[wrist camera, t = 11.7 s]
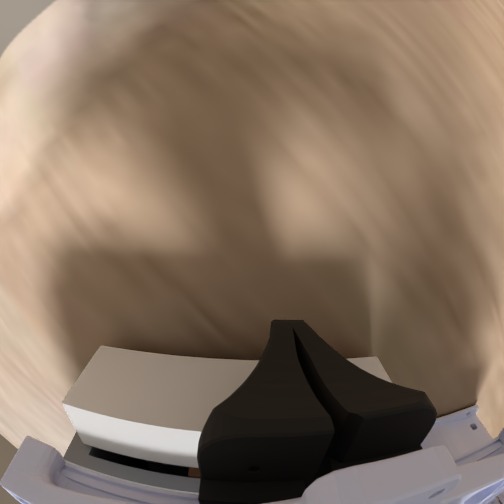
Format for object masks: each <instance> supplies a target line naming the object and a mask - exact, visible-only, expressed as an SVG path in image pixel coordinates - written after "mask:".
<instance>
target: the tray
mask: <svg viewBox="0 0 504 504" xmlns="http://www.w3.org/2000/svg"><path fill="white" fill-rule="evenodd" d="M347 360H348V361H350V362H351V363H353V364H355V365H356V366H358V367H359V368H361V369H363V370H365V371H366V372H368V373H370V374H372V375H374V376H376V377H378V378H381V379H383V380H386V381H388V382H391V383H392V381H391V380H390V378H389V376H388V374H387V373H386V371H385V369H384V368H383V366H382V364H381V363H380V361H379V359H378V358H377V356H375V357H363V358H349V359H347ZM258 362H259V360H233V359H214V358H200V357H188V356H177V355H167V354H158V353H150V352H142V351H135V350H128V349H121V348H115V347H109V346H103V345H101V346H100V347H99V348H98V350H97V351H96V353H95V354H94V355H93V357H92V358H91V360H90V361H89V363H88V364H87V365H86V367H85V368H84V370H83V371H82V373H81V374H80V376H79V377H78V379H77V380H76V382H75V383H74V385H73V386H72V388H71V389H70V391H69V392H68V394H67V395H66V397H65V398H64V400H63V401H62V405H63V407H64V409H65V411H66V413H67V415H68V417H69V418H70V420H71V422H72V424H73V426H74V428H75V429H76V431H77V433H78V435H79V437H80V438H81V440H82V442H83V443H84V444H87V445H90V446H93V447H96V448H99V449H103V450H106V451H110V452H114V453H118V454H122V455H126V456H130V457H134V458H139V459H144V460H146V462H147V464H148V466H149V469H150V471H152V472H157V473H163V474H169V475H176V476H183V477H188V472H189V467H194V468H199V467H198V462H197V451H198V442H199V438H200V435H201V432H202V430H203V427H204V425H205V423H206V421H207V419H208V417H209V415H210V413H211V412H212V410H213V408H214V407H216V406H217V405H219V404H220V403H221V402H223V401H224V400H225V399H227V398H228V397H229V396H230V395H231V394H232V393H233V392H234V391H235V390H237V389H238V388H239V387H240V386H241V385H242V384H243V382H244V381H245V380H246V379H247V378H248V376H249V375H250V374H251V372H252V371H253V370H254V368H255V367H256V365H257V364H258Z"/></svg>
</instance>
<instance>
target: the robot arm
mask: <svg viewBox="0 0 504 504" xmlns="http://www.w3.org/2000/svg"><path fill="white" fill-rule="evenodd" d="M478 409H479V406H478V405H474V406H472V407H469V408H466V409H463V410H461V411H458V412H455V413H452V414H449V415H446V416H443V417H439V418H436V417H437V412H436V409H435V408H434V406H433V404H432V403H431V401H430V400H429V398H428V397H427V395H426V394H425V392H422V391H417V390H414V389H410V388H406V387H402V386H399V385H396V384H393V383H391V382H388V381H386V380H383V379H381V378H378V377H376V376H374V375H372V374H370V373H368V372H366V371H365V370H363V369H361V368H359V367H358V366H356V365H355V364H353V363H351V362H350V361H348V360H347V359H345V358H344V357H343V356H341V355H340V354H339V353H338V352H336V351H335V350H334V349H333V348H331V347H330V346H329V345H328V344H327V343H326V342H325V341H324V340H323V339H321V338H320V337H319V336H318V335H317V334H316V333H315V332H314V331H313V330H312V329H311V328H310V327H309V326H308V325H307V324H306V323H305V322H304V321H303V320H273V321H272V322H271V328H270V338H269V341H268V343H267V346H266V348H265V350H264V353H263V355H262V357H261V359H260V360H259V362H258V364H257V365H256V367H255V368H254V370H253V371H252V372H251V374H250V375H249V376H248V378H247V379H246V380H245V381H244V382H243V384H242V385H241V386H240V387H239V388H238V389H237V390H235V391H234V392H233V393H232V394H231V395H230V396H229V397H228V398H227V399H225V400H224V401H223V402H221V403H220V404H219V405H217V406H216V407H214V408H213V410H212V412H211V413H210V415H209V417H208V419H207V421H206V423H205V425H204V427H203V430H202V432H201V435H200V438H199V442H198V451H197V462H198V467H199V472H200V477H201V479H200V487H199V495H198V494H190V493H182V492H176V491H169V490H164V489H158V488H153V487H148V486H143V485H139V484H135V483H131V482H127V481H123V480H119V479H115V478H112V477H108V476H105V475H102V474H99V473H96V472H93V471H90V470H87V469H84V468H81V467H78V466H76V465H73V464H70V463H68V462H65V460H64V458H63V456H62V455H61V454H60V453H59V452H58V451H57V450H56V449H55V448H53V447H52V446H50V445H48V444H45V443H43V442H41V441H39V440H37V439H35V438H32V437H30V436H26V438H25V440H24V441H23V443H22V444H21V446H20V448H19V449H18V451H17V453H16V454H15V456H14V458H13V460H12V461H11V463H10V465H9V467H8V468H7V470H6V472H5V474H4V476H3V478H2V479H1V481H0V484H1V486H2V487H3V488H4V489H5V490H6V491H8V492H9V493H10V494H11V495H12V496H13V497H14V498H15V499H17V500H18V501H19V502H20V503H21V504H499V503H498V501H497V499H496V496H498V498H499V502H500V504H504V428H503V429H502V431H501V432H500V434H499V436H498V437H496V438H494V439H492V437H491V436H490V434H489V433H488V431H487V430H486V429H485V427H484V426H483V424H482V423H481V421H480V420H479V419H478V417H477V416H476V413H477V411H478Z"/></svg>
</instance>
